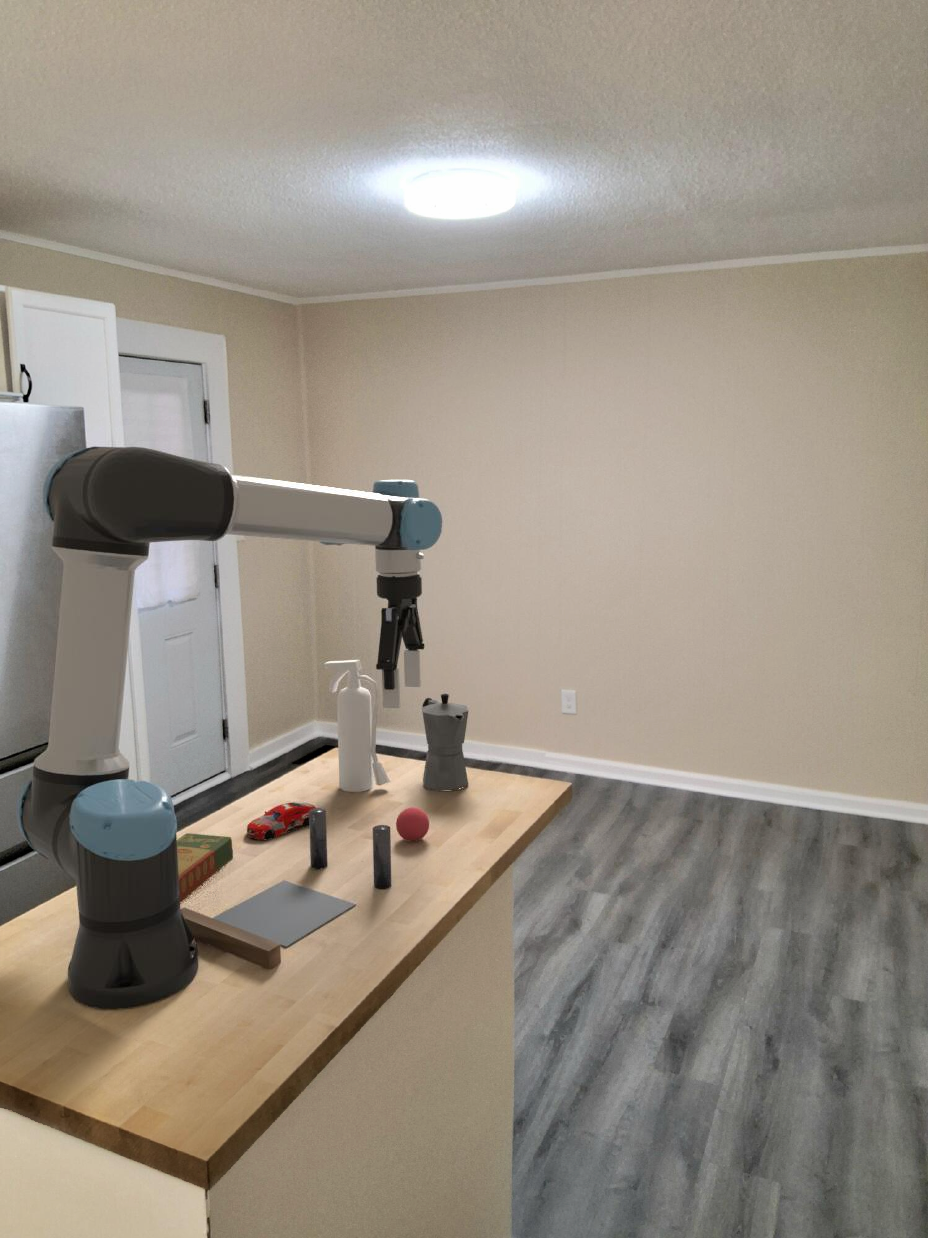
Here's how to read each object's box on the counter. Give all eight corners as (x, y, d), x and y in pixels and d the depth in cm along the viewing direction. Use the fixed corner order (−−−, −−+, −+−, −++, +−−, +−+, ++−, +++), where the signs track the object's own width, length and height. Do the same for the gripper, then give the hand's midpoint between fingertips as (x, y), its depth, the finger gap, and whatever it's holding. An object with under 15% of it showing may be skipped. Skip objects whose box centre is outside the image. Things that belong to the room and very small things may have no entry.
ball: (416, 849, 153) (415, 817, 152) (389, 842, 156) (389, 810, 155) (435, 838, 157) (435, 806, 156) (409, 831, 160) (409, 800, 159)
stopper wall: (269, 969, 117) (268, 951, 117) (173, 930, 127) (172, 913, 127) (280, 962, 119) (280, 944, 118) (185, 924, 129) (184, 907, 128)
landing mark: (286, 948, 122) (286, 946, 122) (212, 919, 130) (212, 918, 130) (355, 905, 134) (355, 904, 134) (284, 881, 142) (284, 880, 141)
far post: (319, 870, 145) (318, 815, 144) (307, 867, 147) (305, 812, 145) (331, 864, 147) (329, 810, 146) (318, 861, 149) (316, 806, 147)
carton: (129, 900, 137) (126, 872, 136) (187, 855, 152) (185, 830, 151) (180, 906, 135) (178, 878, 134) (234, 860, 150) (232, 835, 149)
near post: (384, 891, 138) (382, 833, 137) (370, 886, 140) (369, 829, 138) (395, 884, 140) (393, 827, 139) (381, 880, 142) (380, 823, 140)
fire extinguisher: (381, 796, 176) (375, 664, 173) (324, 790, 181) (318, 662, 177) (396, 785, 183) (391, 658, 179) (341, 780, 187) (335, 655, 184)
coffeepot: (483, 789, 180) (483, 698, 177) (439, 798, 176) (438, 704, 173) (445, 767, 193) (445, 681, 190) (404, 774, 189) (402, 687, 186)
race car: (257, 846, 156) (256, 823, 155) (240, 836, 159) (239, 814, 159) (323, 824, 165) (322, 802, 164) (305, 815, 168) (304, 794, 168)
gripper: (400, 584, 144) (404, 718, 148) (437, 563, 168) (440, 679, 172) (353, 584, 146) (359, 716, 150) (397, 563, 170) (400, 677, 174)
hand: (402, 696), depth 161 cm, fingers open, 13 cm apart
